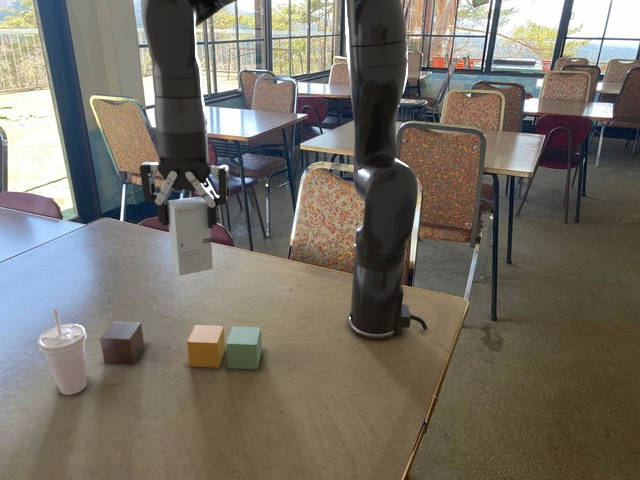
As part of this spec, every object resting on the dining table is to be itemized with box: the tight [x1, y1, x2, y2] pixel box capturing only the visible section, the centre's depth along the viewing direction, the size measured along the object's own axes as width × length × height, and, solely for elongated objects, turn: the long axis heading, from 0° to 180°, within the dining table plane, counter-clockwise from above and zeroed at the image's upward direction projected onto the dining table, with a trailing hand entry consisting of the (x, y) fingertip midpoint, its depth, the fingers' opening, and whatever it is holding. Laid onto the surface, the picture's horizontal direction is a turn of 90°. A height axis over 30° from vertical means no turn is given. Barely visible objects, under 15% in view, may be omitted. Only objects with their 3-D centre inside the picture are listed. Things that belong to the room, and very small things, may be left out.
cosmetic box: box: [167, 196, 213, 276], centre depth 81 cm, size 6×4×12 cm
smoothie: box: [37, 307, 87, 396], centre depth 73 cm, size 6×6×14 cm
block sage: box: [225, 326, 263, 370], centre depth 82 cm, size 5×5×5 cm
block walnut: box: [99, 321, 145, 365], centre depth 82 cm, size 5×5×5 cm
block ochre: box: [186, 324, 226, 369], centre depth 82 cm, size 5×5×5 cm
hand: (189, 225), depth 80 cm, fingers closed on cosmetic box, 7 cm apart
